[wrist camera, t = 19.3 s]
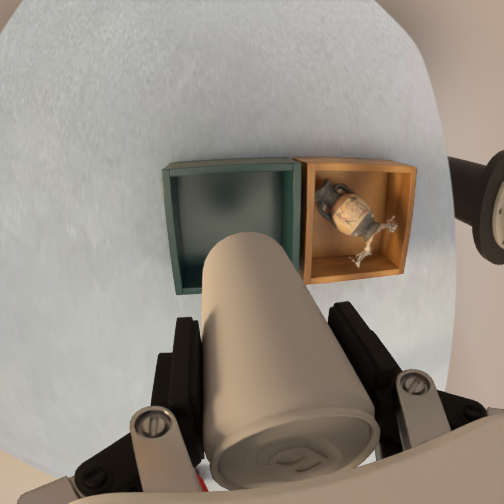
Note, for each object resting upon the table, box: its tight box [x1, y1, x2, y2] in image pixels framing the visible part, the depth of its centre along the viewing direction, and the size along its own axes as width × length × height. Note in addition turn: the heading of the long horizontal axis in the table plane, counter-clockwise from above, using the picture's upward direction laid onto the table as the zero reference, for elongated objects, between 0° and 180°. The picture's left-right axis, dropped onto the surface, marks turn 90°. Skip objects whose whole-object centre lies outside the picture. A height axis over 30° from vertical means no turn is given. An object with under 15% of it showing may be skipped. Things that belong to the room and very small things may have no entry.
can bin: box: [162, 157, 301, 295], centre depth 25 cm, size 10×10×5 cm
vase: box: [315, 172, 398, 268], centre depth 25 cm, size 5×5×6 cm
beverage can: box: [201, 232, 380, 490], centre depth 12 cm, size 5×5×12 cm
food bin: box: [292, 157, 417, 285], centre depth 26 cm, size 10×10×5 cm
